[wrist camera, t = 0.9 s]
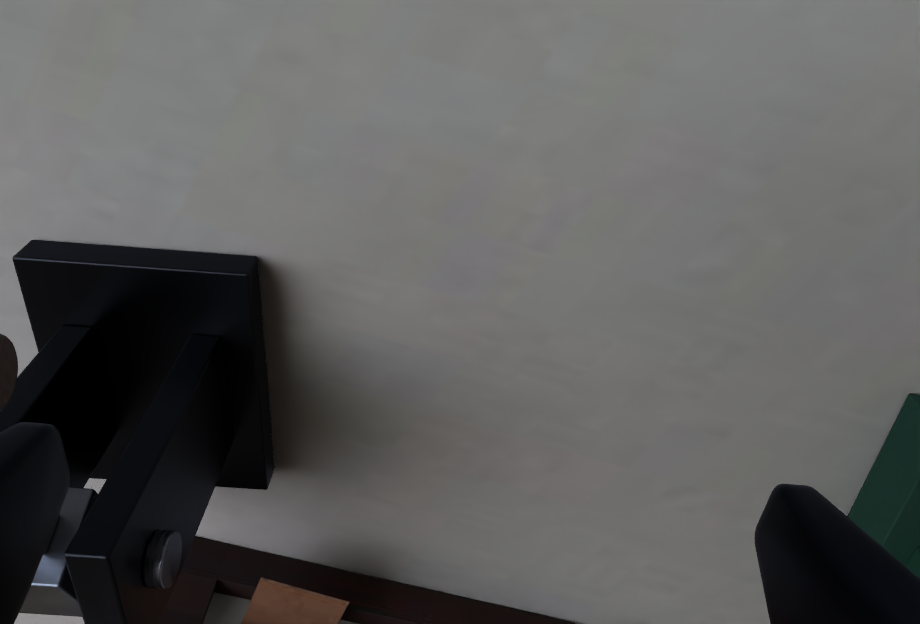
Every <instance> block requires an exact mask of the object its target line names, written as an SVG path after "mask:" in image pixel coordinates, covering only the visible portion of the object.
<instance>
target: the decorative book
mask: <svg viewBox="0 0 920 624" xmlns="http://www.w3.org/2000/svg"><path fill="white" fill-rule="evenodd" d="M159 624H575V623H572V622H568V621H563V620H559V619H555V618H550V617H546V616H541V615H537V614H533V613H528V612H524V611H519V610H515V609H511V608H506V607H502V606H497V605H493V604H489V603H484V602H480V601H476V600H471V599H467V598H462V597H458V596H454V595H449V594H445V593H440V592H436V591H432V590H427V589H423V588H418V587H414V586H410V585H405V584H401V583H396V582H392V581H388V580H383V579H379V578H374V577H370V576H366V575H361V574H357V573H352V572H348V571H344V570H339V569H335V568H331V567H326V566H322V565H317V564H313V563H309V562H304V561H300V560H295V559H291V558H287V557H282V556H278V555H273V554H269V553H265V552H260V551H256V550H251V549H247V548H243V547H238V546H234V545H229V544H225V543H221V542H216V541H212V540H207V539H203V538H199V537H194V539H193V542H192V544H191V547H190V549H189V552H188V554H187V557H186V559H185V562H184V564H183V567H182V569H181V571H180V574H179V576H178V579H177V581H176V584H175V586H174V589H173V591H172V594H171V596H170V599H169V601H168V604H167V606H166V608H165V611H164V613H163V616H162V618H161V621H160V623H159Z"/></svg>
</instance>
